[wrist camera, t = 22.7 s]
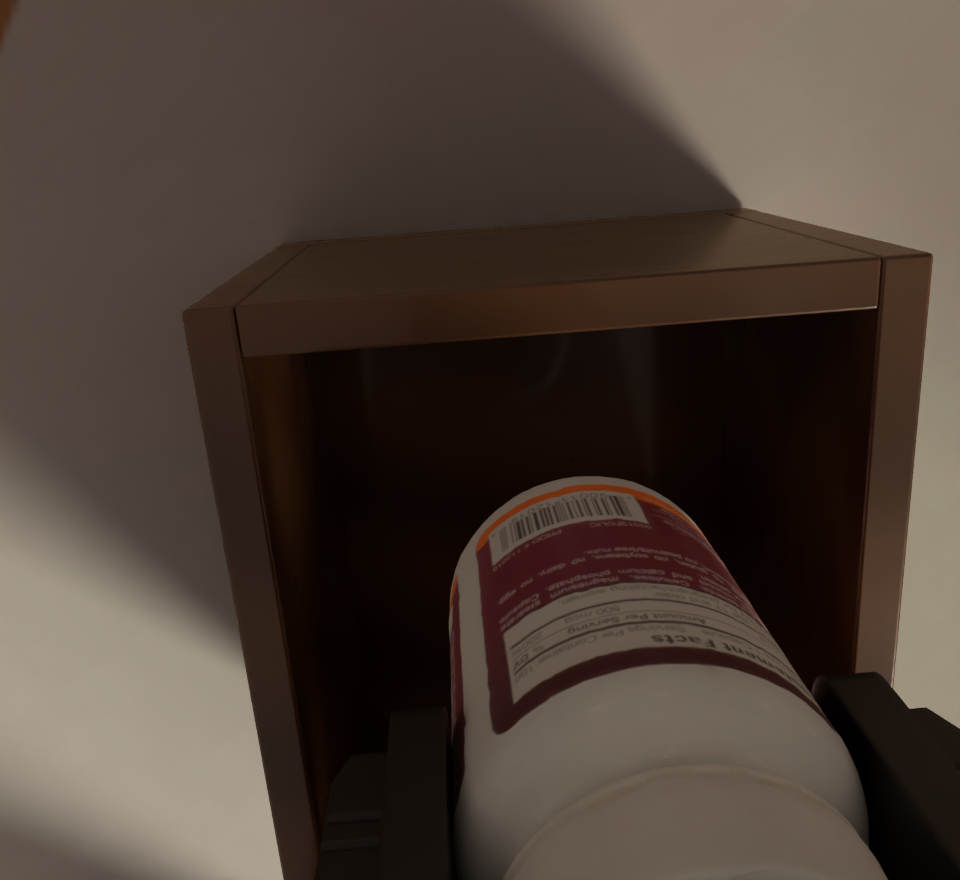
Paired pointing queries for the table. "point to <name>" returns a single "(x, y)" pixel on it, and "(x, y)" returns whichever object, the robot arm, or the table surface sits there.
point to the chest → (544, 443)
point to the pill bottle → (632, 707)
